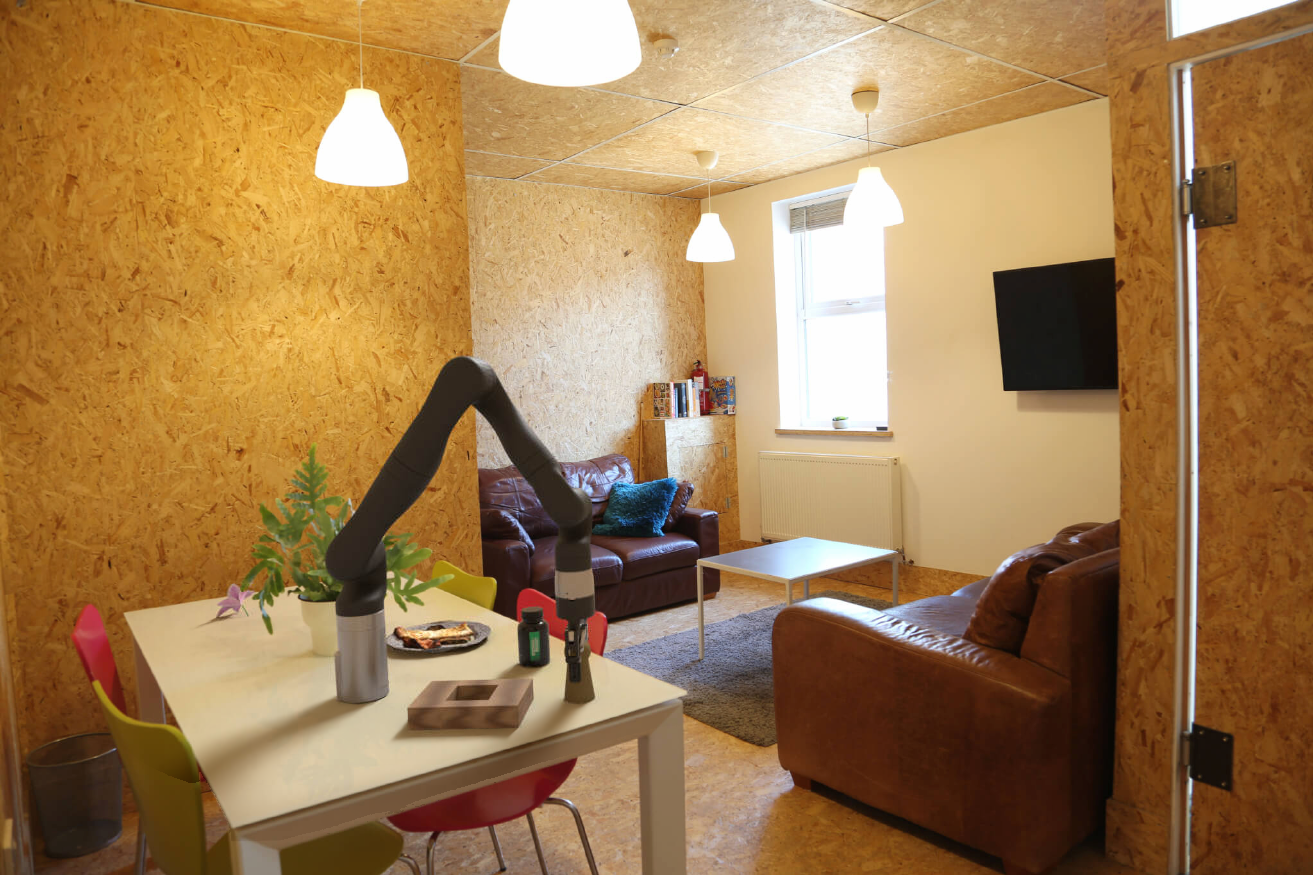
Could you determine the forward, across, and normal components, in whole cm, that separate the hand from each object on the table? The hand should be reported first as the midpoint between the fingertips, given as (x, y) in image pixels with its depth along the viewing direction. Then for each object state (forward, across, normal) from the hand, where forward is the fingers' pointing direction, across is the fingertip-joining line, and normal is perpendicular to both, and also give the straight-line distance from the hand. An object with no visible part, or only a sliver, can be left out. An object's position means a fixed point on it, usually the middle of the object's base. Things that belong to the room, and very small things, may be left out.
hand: (578, 674), depth 165 cm
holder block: (+5, +7, -19) cm, 21 cm away
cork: (+5, 0, 0) cm, 5 cm away
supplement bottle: (+5, -22, -13) cm, 26 cm away
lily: (+5, -71, -107) cm, 129 cm away
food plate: (+5, -40, -40) cm, 57 cm away
